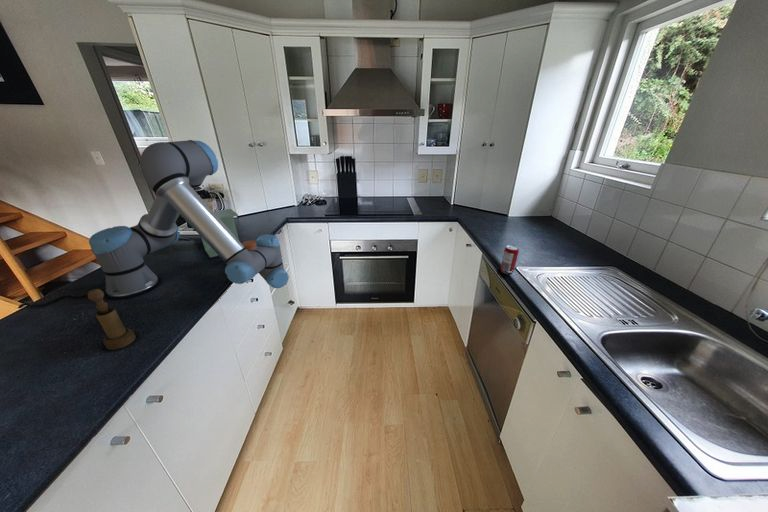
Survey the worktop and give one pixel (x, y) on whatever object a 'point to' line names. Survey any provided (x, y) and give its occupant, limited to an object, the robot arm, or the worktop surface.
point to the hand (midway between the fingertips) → (248, 248)
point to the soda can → (509, 258)
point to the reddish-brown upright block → (249, 244)
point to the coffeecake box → (211, 204)
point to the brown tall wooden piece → (111, 323)
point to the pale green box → (228, 220)
